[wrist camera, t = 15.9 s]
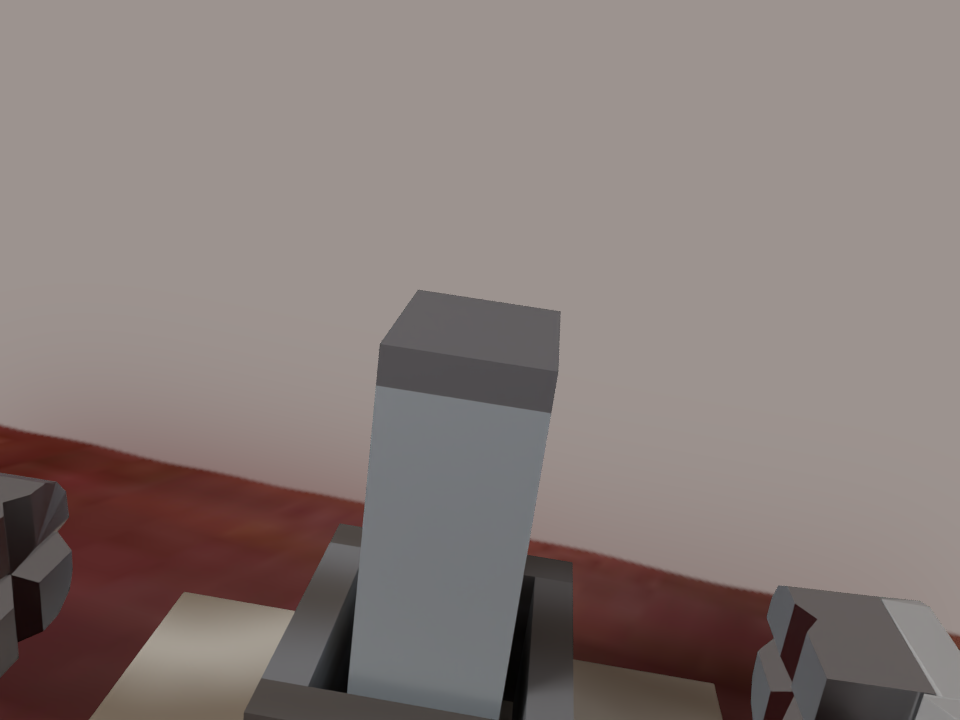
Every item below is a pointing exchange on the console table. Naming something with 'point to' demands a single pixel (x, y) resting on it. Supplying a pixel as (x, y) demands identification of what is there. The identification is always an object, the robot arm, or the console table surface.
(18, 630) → the robot arm
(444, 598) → the grey tall block
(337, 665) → the post socket
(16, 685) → the console table surface
